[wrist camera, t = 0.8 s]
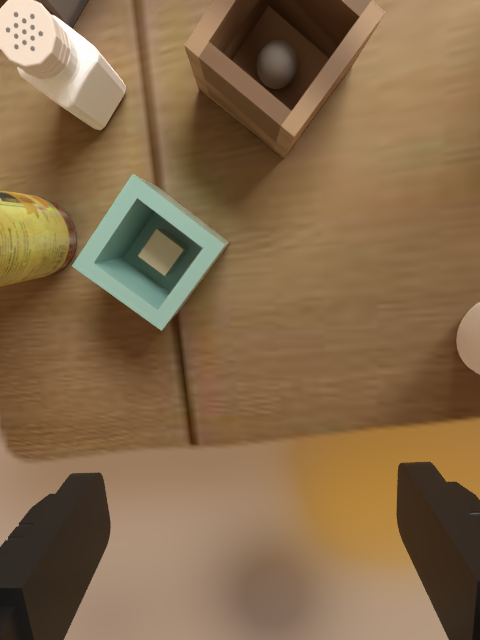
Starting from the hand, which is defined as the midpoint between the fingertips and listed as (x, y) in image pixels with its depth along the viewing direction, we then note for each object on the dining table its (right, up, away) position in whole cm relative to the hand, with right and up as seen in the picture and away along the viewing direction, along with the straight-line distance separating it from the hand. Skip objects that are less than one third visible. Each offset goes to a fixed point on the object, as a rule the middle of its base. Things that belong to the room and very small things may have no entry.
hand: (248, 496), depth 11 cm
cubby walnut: (+2, +23, +18) cm, 29 cm away
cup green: (-6, +10, +21) cm, 24 cm away
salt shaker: (-11, +22, +19) cm, 31 cm away
